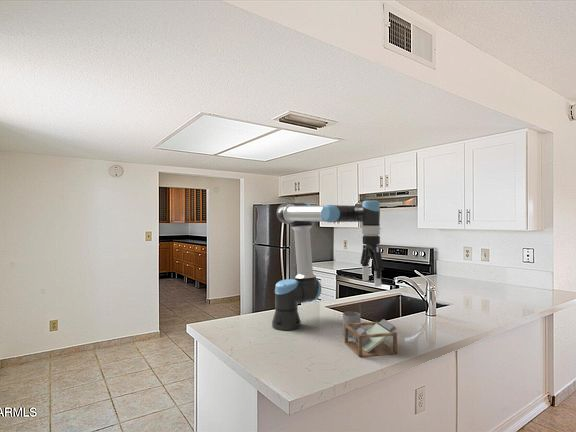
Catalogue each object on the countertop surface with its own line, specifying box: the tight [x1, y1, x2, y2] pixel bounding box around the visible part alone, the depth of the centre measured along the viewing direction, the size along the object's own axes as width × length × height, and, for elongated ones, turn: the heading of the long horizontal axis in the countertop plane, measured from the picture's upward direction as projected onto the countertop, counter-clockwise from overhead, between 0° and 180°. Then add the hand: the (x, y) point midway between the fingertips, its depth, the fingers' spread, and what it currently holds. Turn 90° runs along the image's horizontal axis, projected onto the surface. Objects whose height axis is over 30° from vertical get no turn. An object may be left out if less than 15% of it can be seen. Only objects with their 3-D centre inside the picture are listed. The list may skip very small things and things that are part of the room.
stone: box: [352, 326, 371, 347], centre depth 151 cm, size 5×5×5 cm
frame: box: [344, 321, 398, 358], centre depth 152 cm, size 17×17×8 cm
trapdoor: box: [353, 318, 397, 353], centre depth 152 cm, size 16×13×2 cm
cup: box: [342, 311, 362, 339], centre depth 169 cm, size 8×8×10 cm
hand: (371, 283), depth 156 cm, fingers open, 13 cm apart
